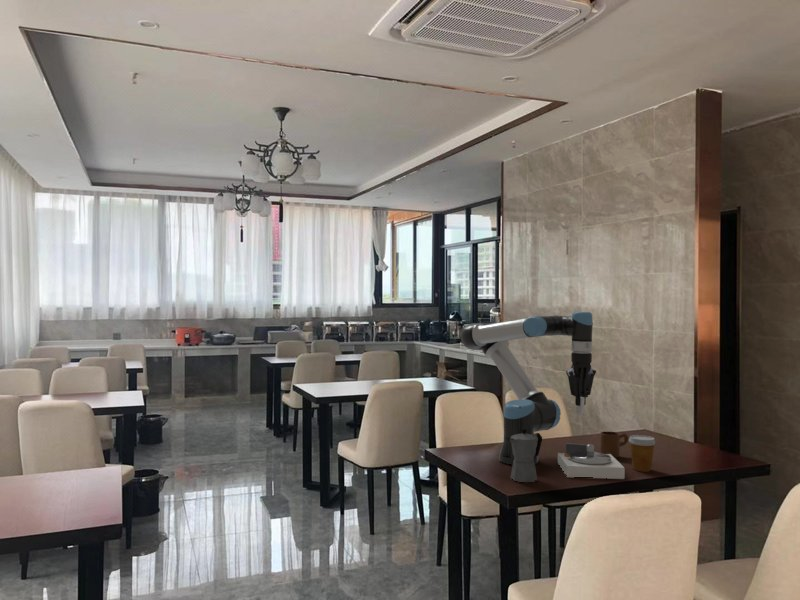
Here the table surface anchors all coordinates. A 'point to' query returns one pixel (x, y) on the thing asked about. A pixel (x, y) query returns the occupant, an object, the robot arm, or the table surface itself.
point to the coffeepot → (525, 456)
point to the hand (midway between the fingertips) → (580, 413)
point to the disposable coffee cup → (642, 452)
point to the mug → (612, 443)
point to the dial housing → (591, 468)
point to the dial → (586, 454)
